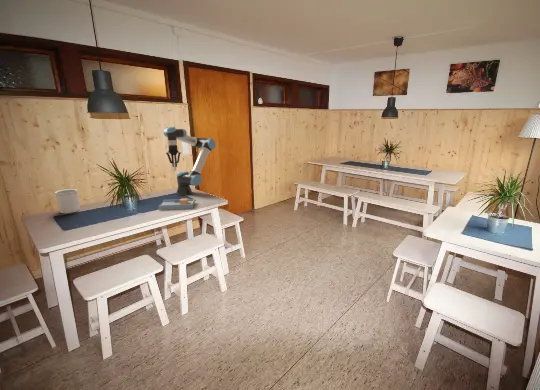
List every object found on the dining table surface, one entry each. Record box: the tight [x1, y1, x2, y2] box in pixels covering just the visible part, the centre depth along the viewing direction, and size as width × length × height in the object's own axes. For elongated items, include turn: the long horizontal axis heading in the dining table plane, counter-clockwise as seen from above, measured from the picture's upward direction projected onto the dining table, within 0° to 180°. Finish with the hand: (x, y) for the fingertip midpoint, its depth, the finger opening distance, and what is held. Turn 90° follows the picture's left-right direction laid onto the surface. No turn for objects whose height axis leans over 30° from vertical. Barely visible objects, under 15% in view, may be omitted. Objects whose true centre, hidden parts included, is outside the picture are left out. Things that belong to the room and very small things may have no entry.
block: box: [180, 197, 189, 205], centre depth 233 cm, size 6×6×4 cm
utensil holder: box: [54, 188, 81, 214], centre depth 219 cm, size 15×15×18 cm
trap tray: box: [158, 198, 196, 211], centre depth 233 cm, size 16×28×4 cm, turn 97°
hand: (175, 170), depth 241 cm, fingers closed
